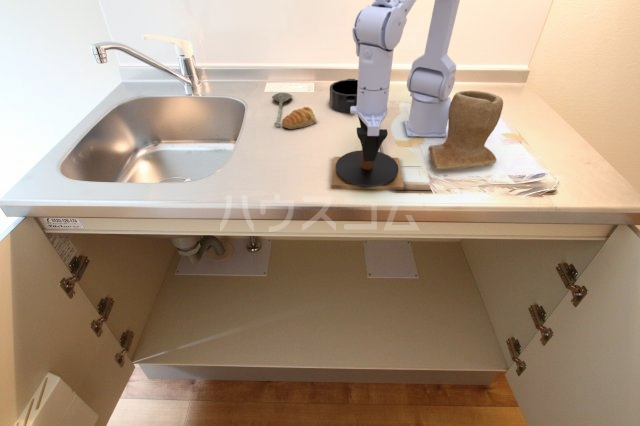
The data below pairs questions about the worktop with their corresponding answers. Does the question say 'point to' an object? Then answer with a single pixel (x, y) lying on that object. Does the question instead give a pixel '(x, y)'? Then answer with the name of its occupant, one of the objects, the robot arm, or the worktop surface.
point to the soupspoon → (280, 104)
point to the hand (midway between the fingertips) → (368, 150)
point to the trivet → (341, 184)
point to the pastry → (299, 118)
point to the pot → (343, 95)
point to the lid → (366, 169)
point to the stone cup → (468, 131)
